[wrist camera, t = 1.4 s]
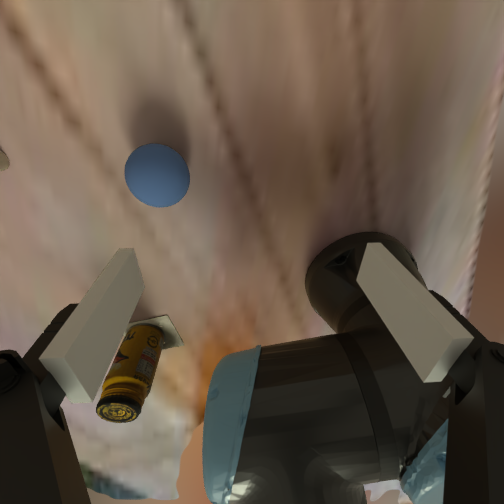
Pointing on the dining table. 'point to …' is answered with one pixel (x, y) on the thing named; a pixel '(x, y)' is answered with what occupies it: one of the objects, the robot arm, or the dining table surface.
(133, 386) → the condiment
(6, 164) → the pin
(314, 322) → the dining table surface
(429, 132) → the dining table surface
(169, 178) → the ball
